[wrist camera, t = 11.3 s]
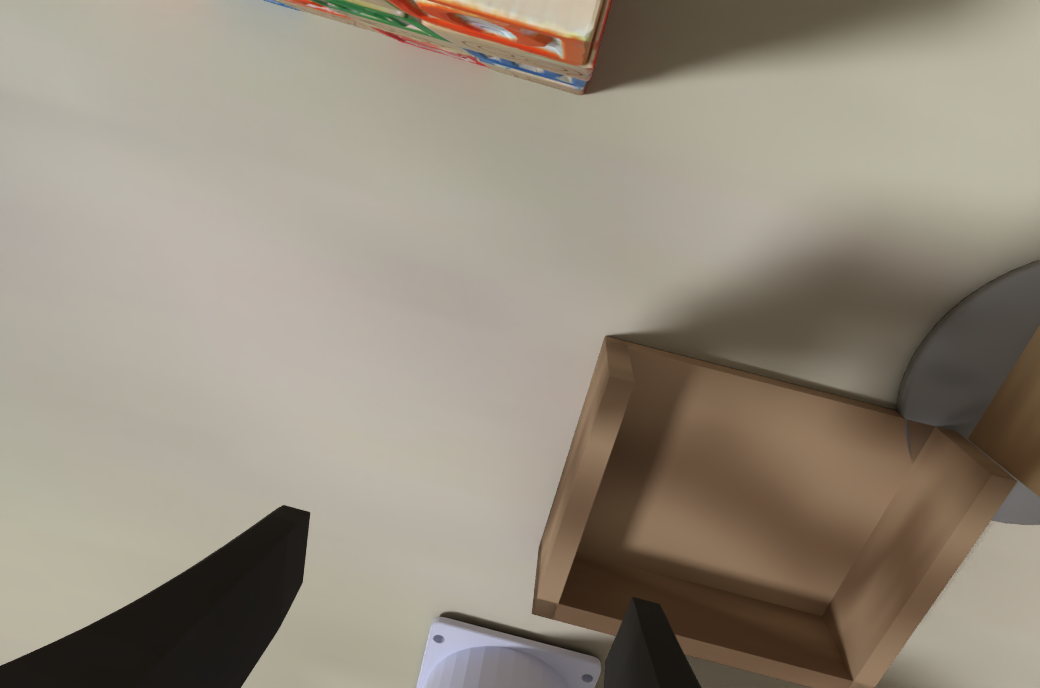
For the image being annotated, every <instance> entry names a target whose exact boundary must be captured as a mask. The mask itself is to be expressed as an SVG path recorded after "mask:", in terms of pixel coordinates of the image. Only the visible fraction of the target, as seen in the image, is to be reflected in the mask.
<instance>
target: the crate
mask: <svg viewBox="0 0 1040 688" xmlns="http://www.w3.org/2000/svg"><path fill="white" fill-rule="evenodd" d="M907 421H908V423H905V418H904V417H903V416H902V415H900V414H899V413H898V412H897V411H896V410H892V409H888V408H884V407H880V406H876V405H872V404H868V403H864V402H861V401H857V400H853V399H849V398H845V397H841V396H837V395H833V394H829V393H825V392H822V391H818V390H814V389H810V388H806V387H802V386H798V385H794V384H790V383H786V382H783V381H779V380H775V379H771V378H767V377H763V376H759V375H755V374H751V373H747V372H744V371H740V370H736V369H732V368H728V367H724V366H720V365H716V364H712V363H708V362H705V361H701V360H697V359H693V358H689V357H685V356H681V355H677V354H673V353H669V352H666V351H662V350H658V349H654V348H650V347H646V346H642V345H638V344H634V343H630V342H627V341H623V340H619V339H615V338H611V337H607V336H605V338H604V341H603V345H602V348H601V351H600V354H599V357H598V361H597V364H596V367H595V370H594V373H593V377H592V380H591V383H590V386H589V389H588V393H587V396H586V399H585V402H584V405H583V409H582V412H581V415H580V418H579V421H578V424H577V428H576V431H575V434H574V437H573V440H572V444H571V447H570V450H569V453H568V456H567V460H566V463H565V466H564V469H563V472H562V476H561V479H560V482H559V485H558V488H557V491H556V495H555V498H554V501H553V504H552V507H551V511H550V514H549V517H548V520H547V523H546V527H545V530H544V533H543V536H542V539H541V543H540V546H539V551H538V561H537V570H536V579H535V589H534V598H533V608H532V614H534V615H538V616H542V617H545V618H549V619H553V620H557V621H561V622H564V623H568V624H572V625H576V626H580V627H583V628H587V629H591V630H595V631H599V632H602V633H606V634H610V635H614V636H616V635H617V633H618V630H619V628H620V625H621V623H622V620H623V618H624V616H625V613H626V611H627V608H628V606H629V603H630V601H631V599H632V597H635V598H639V599H643V600H647V601H651V602H655V603H658V604H660V605H661V607H662V608H663V610H664V613H665V615H666V617H667V619H668V621H669V623H670V625H671V627H672V629H673V632H674V634H675V636H676V638H677V640H678V642H679V644H680V646H681V648H682V650H683V652H684V654H686V655H690V656H693V657H697V658H701V659H705V660H709V661H712V662H716V663H720V664H724V665H728V666H731V667H735V668H739V669H743V670H747V671H750V672H754V673H758V674H762V675H766V676H769V677H773V678H777V679H781V680H785V681H788V682H792V683H796V684H800V685H804V686H807V687H811V688H875V687H876V685H877V684H878V682H879V681H880V679H881V678H882V677H883V675H884V674H885V672H886V671H887V669H888V668H889V666H890V665H891V664H892V662H893V661H894V659H895V658H896V656H897V655H898V653H899V652H900V651H901V649H902V648H903V646H904V645H905V643H906V642H907V640H908V639H909V638H910V636H911V635H912V633H913V632H914V630H915V629H916V628H917V626H918V625H919V623H920V622H921V620H922V619H923V617H924V616H925V615H926V613H927V612H928V610H929V609H930V607H931V606H932V604H933V603H934V602H935V600H936V599H937V597H938V596H939V594H940V593H941V591H942V590H943V589H944V587H945V586H946V584H947V583H948V581H949V580H950V578H951V577H952V576H953V574H954V573H955V571H956V570H957V568H958V567H959V566H960V564H961V563H962V561H963V560H964V558H965V557H966V555H967V554H968V553H969V551H970V550H971V548H972V547H973V545H974V544H975V542H976V541H977V540H978V538H979V537H980V535H981V534H982V532H983V531H984V529H985V528H986V527H987V525H988V524H989V522H990V521H991V519H992V518H993V516H994V515H995V514H996V512H997V511H998V509H999V508H1000V506H1001V505H1002V503H1003V502H1004V501H1005V499H1006V498H1007V496H1008V495H1009V493H1010V492H1011V491H1012V489H1013V488H1014V486H1015V485H1016V483H1017V482H1018V481H1017V480H1015V479H1014V478H1013V477H1012V476H1011V475H1009V474H1008V473H1007V472H1006V471H1004V470H1003V469H1002V468H1001V467H1000V466H998V465H997V464H996V463H995V462H993V461H992V460H991V459H990V458H989V457H987V456H986V455H985V454H984V453H983V452H981V451H980V450H979V449H978V448H976V447H975V446H974V445H973V444H972V443H970V442H969V441H968V440H967V439H965V438H964V437H963V436H962V435H961V434H959V433H958V432H955V431H951V430H947V429H943V428H939V427H935V426H931V425H928V426H929V427H928V426H926V425H927V424H923V423H921V424H920V422H917V423H916V422H915V421H912V420H906V422H907ZM912 422H913V423H912ZM906 424H907V427H908V426H909V427H910V429H909V427H908V429H909V430H910V431H908V429H907V428H906V429H907V431H906V432H907V433H908V432H909V433H910V434H909V435H910V436H909V435H908V436H909V437H908V439H909V440H910V441H911V442H909V443H907V442H908V441H909V440H908V441H906V435H905V425H906ZM908 424H909V425H908ZM915 424H916V425H915ZM917 425H918V427H917ZM922 425H923V426H922ZM912 426H913V427H912ZM923 428H924V429H923ZM930 429H931V430H930ZM918 430H919V431H918ZM927 430H928V431H927ZM913 431H914V432H913ZM920 431H921V432H920ZM926 432H928V433H927V434H928V435H927V434H926ZM930 432H931V433H930ZM915 433H916V434H915ZM919 433H920V434H919ZM924 433H925V434H924ZM919 435H920V436H921V437H923V438H921V437H920V436H919ZM914 436H915V437H914ZM927 436H928V438H927ZM912 437H913V438H914V439H915V440H914V439H913V438H912ZM910 438H911V439H910ZM916 438H917V439H916ZM924 438H925V440H924ZM919 439H920V440H919ZM923 443H925V444H923ZM907 444H909V445H910V444H911V445H910V446H908V447H911V448H910V449H909V448H908V447H907ZM913 444H914V445H913ZM920 444H921V445H920ZM912 445H913V446H912ZM916 445H917V446H916ZM919 447H920V448H919ZM914 448H915V449H914ZM908 449H909V450H911V452H910V453H909V450H908ZM919 450H920V451H919ZM914 451H916V452H914ZM915 454H916V455H915ZM910 455H911V456H910ZM917 455H918V456H917ZM913 460H915V461H913Z"/></svg>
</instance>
